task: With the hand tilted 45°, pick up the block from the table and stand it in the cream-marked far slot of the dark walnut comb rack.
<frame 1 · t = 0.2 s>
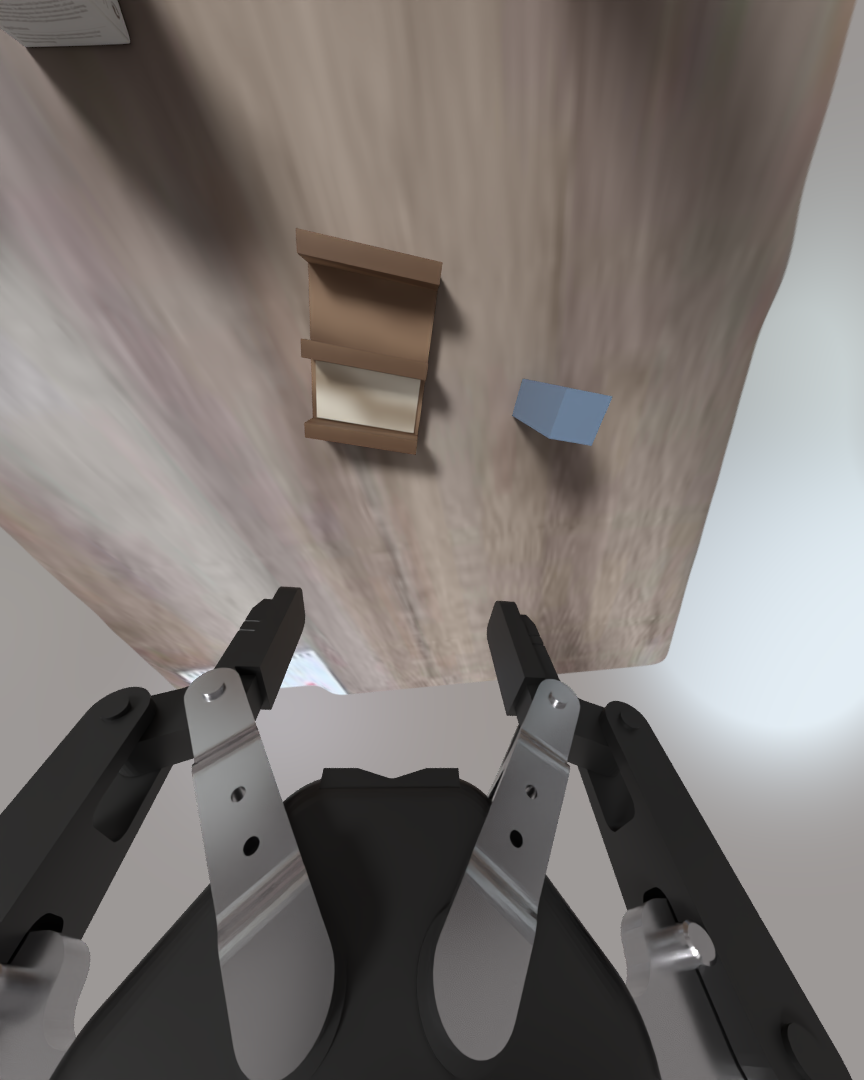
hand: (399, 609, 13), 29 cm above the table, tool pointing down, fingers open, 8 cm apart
rack: (371, 359, 33), on the table
block: (533, 400, 36), on the table
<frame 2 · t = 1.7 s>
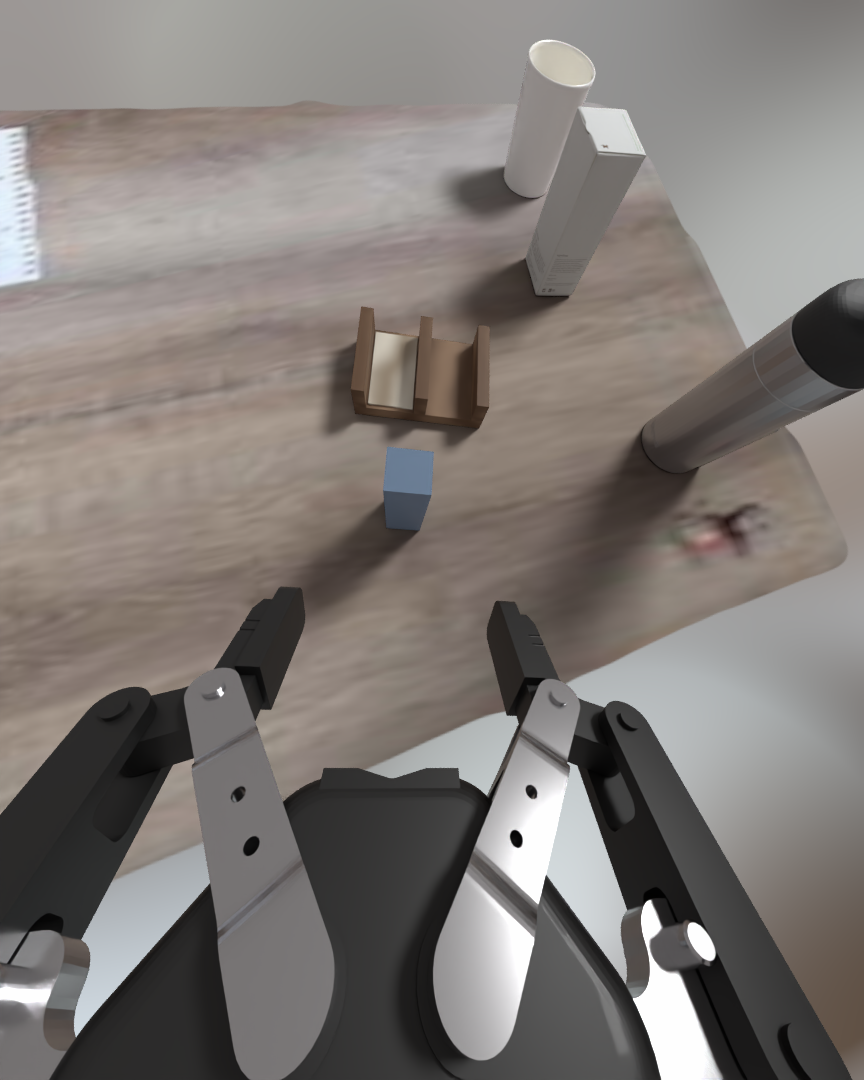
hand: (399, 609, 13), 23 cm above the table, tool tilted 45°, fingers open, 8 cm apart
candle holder: (525, 182, 54), on the table
rack: (421, 382, 42), on the table
block: (404, 513, 37), on the table
skincare box: (545, 277, 49), on the table
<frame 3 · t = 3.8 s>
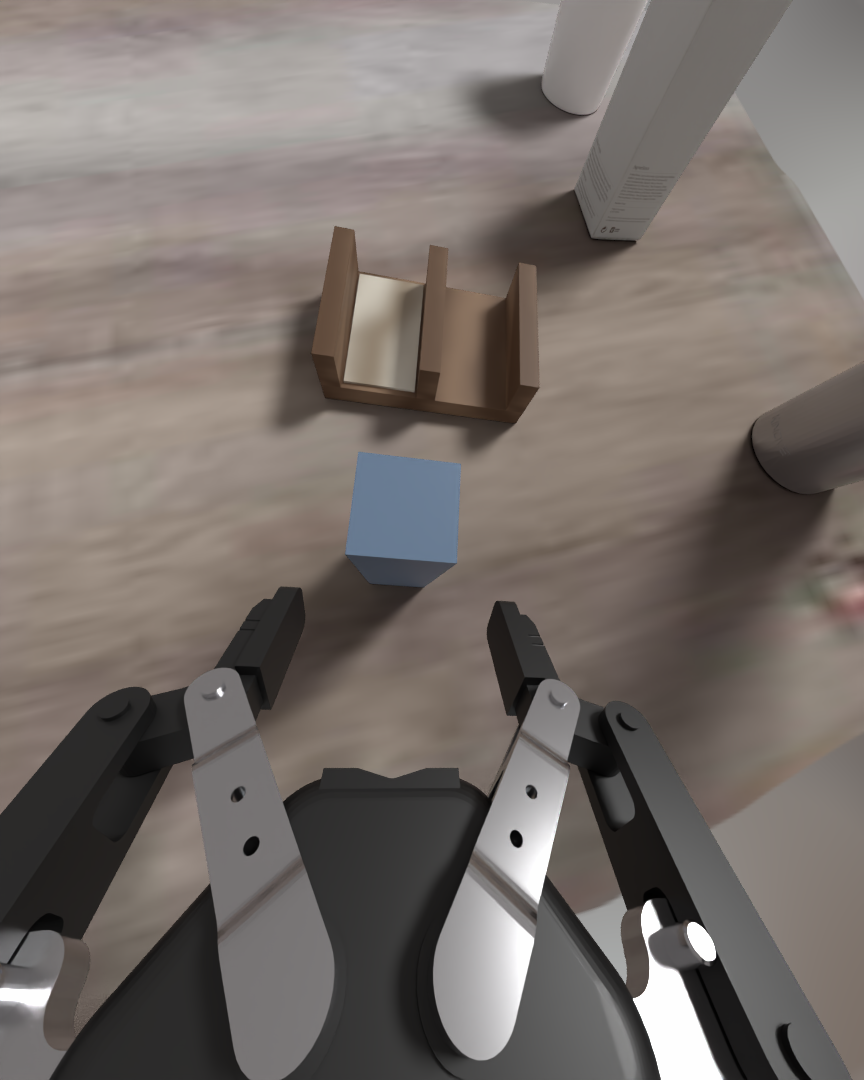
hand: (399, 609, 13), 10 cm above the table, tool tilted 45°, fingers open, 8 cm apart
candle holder: (569, 96, 40), on the table
rack: (428, 353, 27), on the table
block: (399, 559, 23), on the table
skincare box: (602, 216, 35), on the table
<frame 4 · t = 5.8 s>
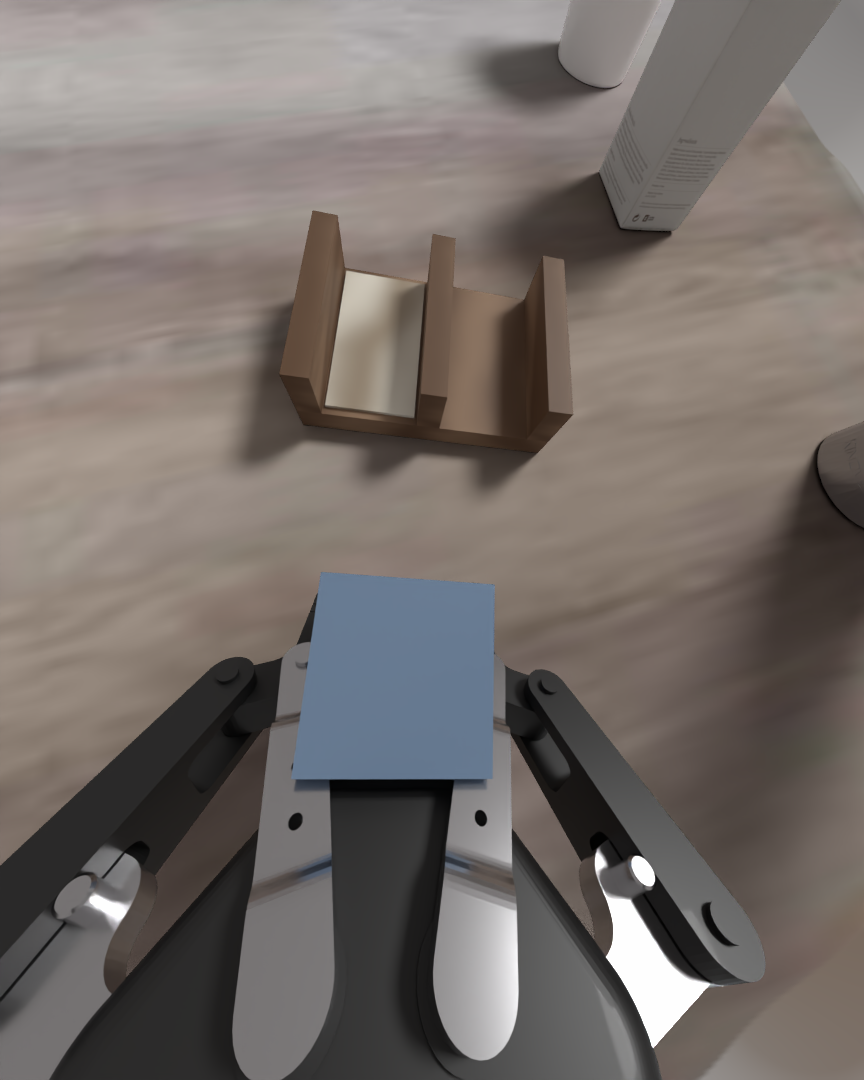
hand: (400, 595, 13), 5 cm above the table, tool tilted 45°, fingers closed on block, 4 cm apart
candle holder: (590, 67, 35), on the table
rack: (430, 367, 23), on the table
block: (396, 632, 18), on the table, touching gripper
skincare box: (631, 203, 30), on the table
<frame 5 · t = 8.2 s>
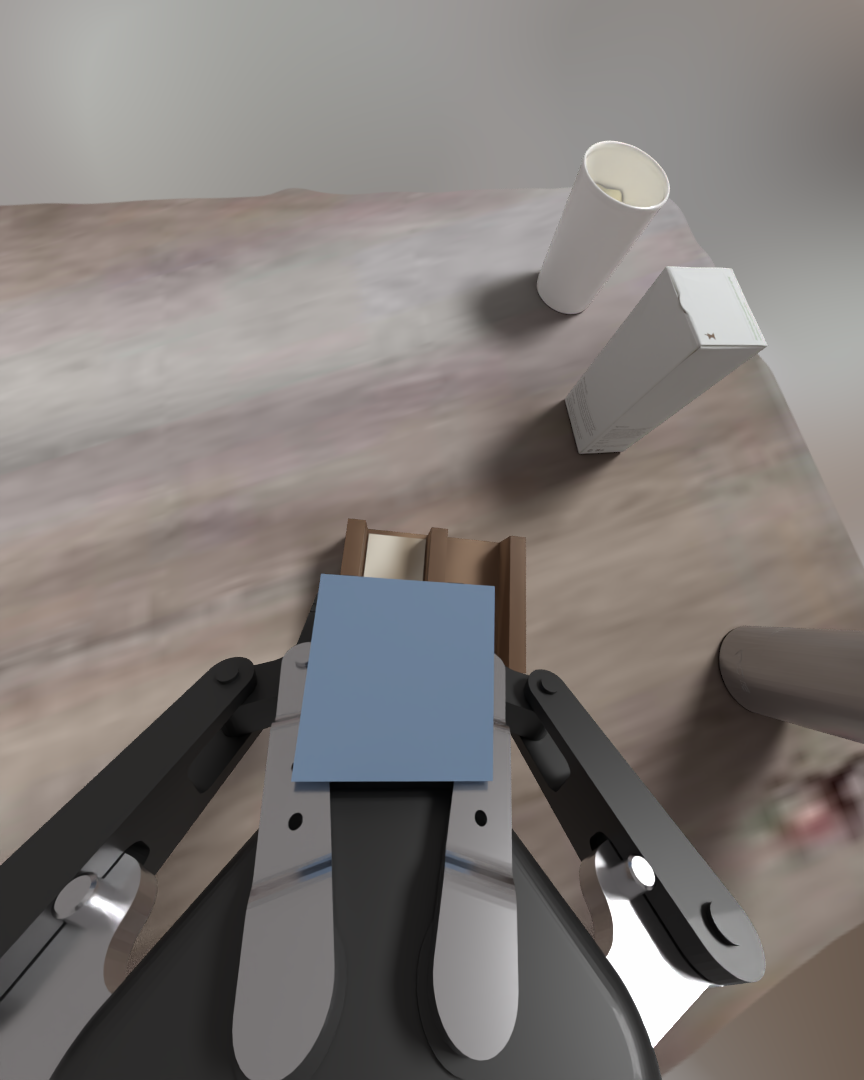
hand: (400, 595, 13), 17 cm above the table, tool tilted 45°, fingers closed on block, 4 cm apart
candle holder: (562, 292, 43), on the table
rack: (429, 596, 31), on the table
block: (396, 633, 18), point 12 cm above the table, touching gripper
skincare box: (589, 425, 39), on the table
when the fingers open (8 cm above the table, at t = 11.1 s): block stays where it is, resting on rack.
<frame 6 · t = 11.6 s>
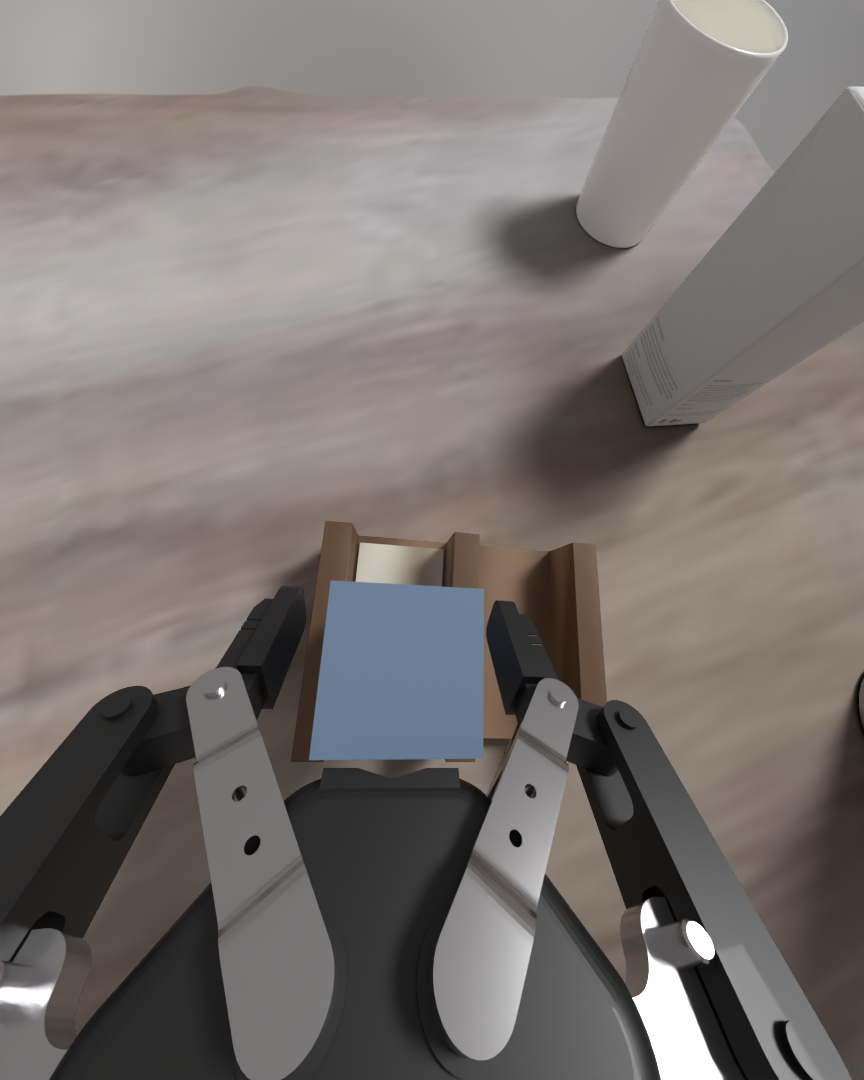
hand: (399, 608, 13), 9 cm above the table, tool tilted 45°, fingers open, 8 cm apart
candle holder: (609, 222, 33), on the table
rack: (449, 632, 21), on the table
block: (397, 632, 19), point 2 cm above the table, touching rack
skincare box: (656, 389, 29), on the table
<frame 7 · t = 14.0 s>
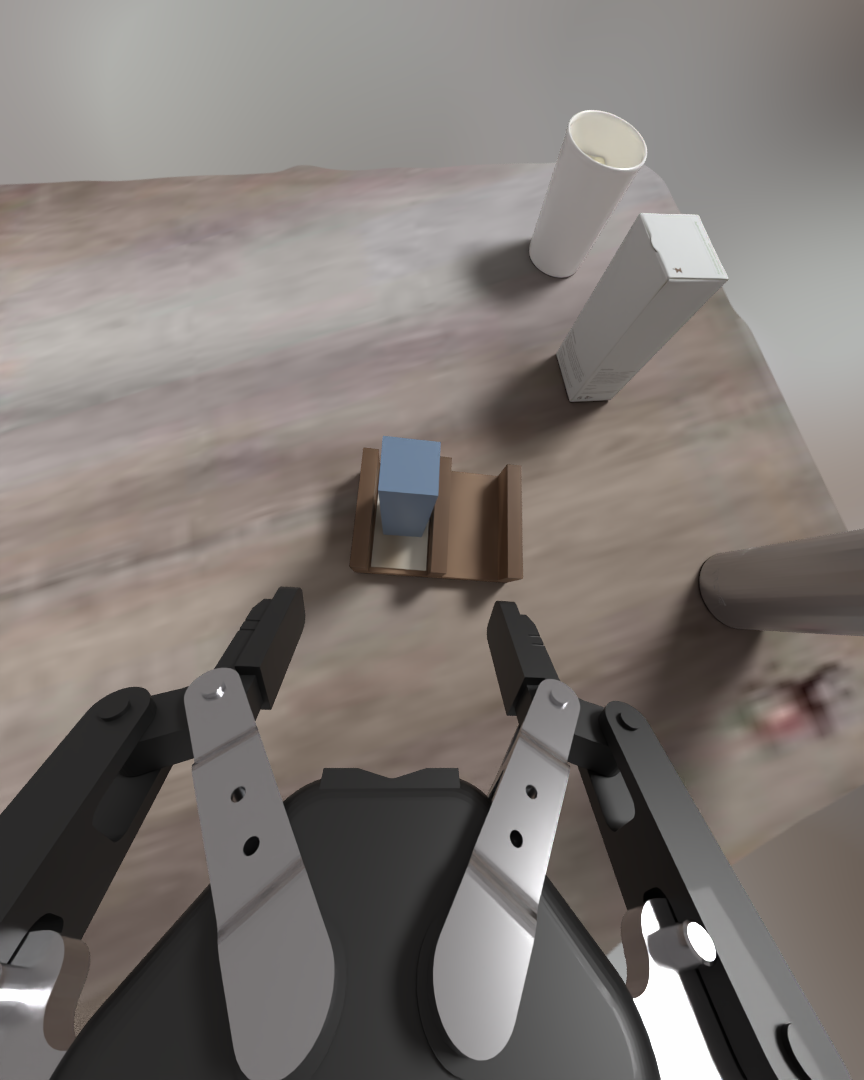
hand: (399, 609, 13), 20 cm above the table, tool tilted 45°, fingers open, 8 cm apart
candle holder: (553, 258, 46), on the table
rack: (435, 524, 34), on the table
block: (403, 517, 32), point 2 cm above the table, touching rack
skincare box: (579, 377, 42), on the table
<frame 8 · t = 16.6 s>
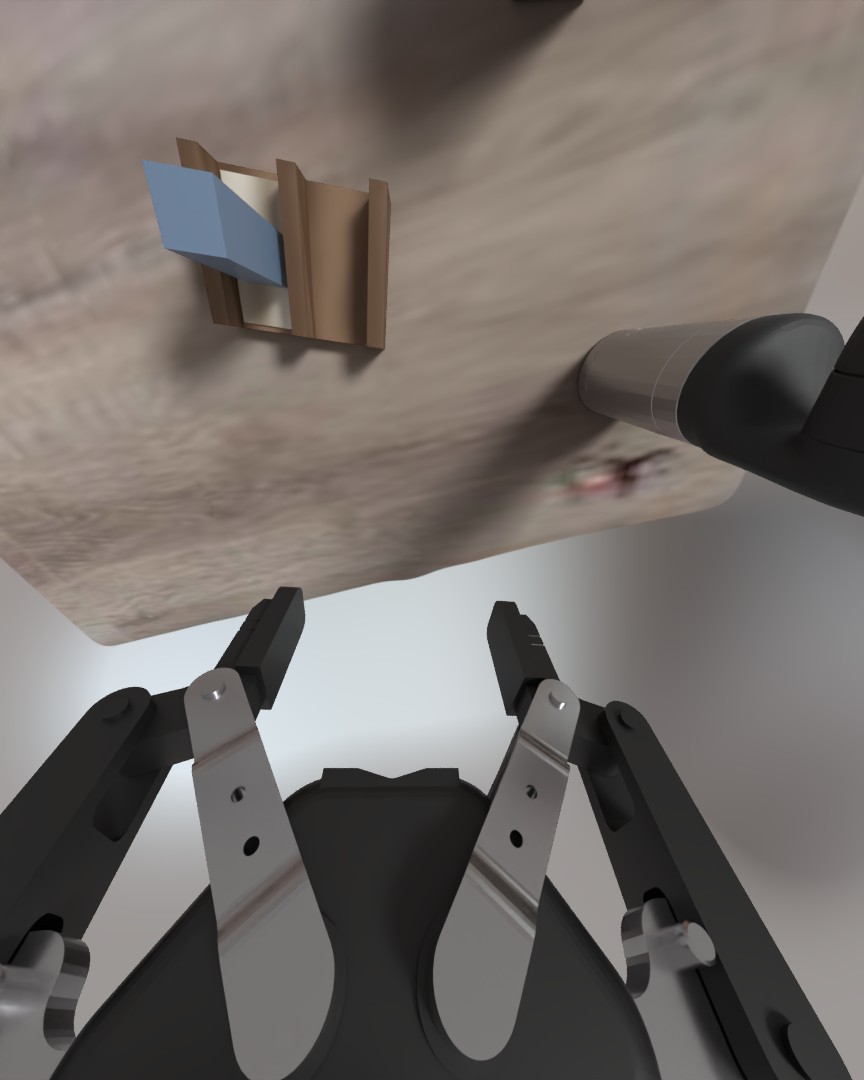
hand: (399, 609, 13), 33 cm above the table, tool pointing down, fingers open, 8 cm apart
rack: (308, 269, 32), on the table
block: (264, 259, 30), point 2 cm above the table, touching rack
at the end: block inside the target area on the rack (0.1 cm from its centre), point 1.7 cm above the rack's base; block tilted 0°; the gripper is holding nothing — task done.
